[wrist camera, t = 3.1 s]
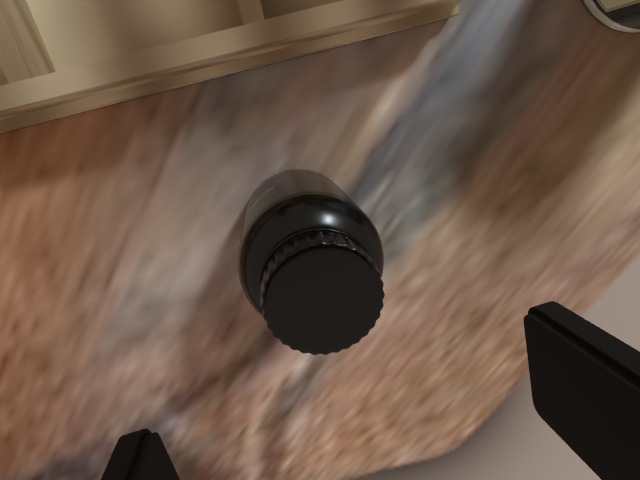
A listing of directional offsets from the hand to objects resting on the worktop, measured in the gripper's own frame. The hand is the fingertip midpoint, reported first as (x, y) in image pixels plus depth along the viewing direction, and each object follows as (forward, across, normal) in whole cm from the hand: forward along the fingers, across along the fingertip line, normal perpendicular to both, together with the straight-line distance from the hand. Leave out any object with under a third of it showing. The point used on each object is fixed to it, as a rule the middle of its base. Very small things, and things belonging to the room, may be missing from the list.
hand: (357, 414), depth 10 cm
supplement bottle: (+18, 0, -1) cm, 18 cm away
